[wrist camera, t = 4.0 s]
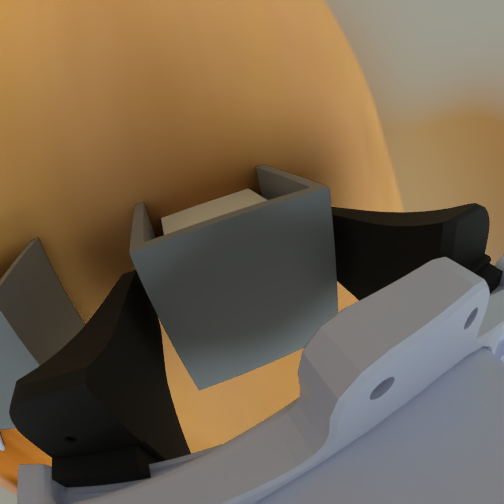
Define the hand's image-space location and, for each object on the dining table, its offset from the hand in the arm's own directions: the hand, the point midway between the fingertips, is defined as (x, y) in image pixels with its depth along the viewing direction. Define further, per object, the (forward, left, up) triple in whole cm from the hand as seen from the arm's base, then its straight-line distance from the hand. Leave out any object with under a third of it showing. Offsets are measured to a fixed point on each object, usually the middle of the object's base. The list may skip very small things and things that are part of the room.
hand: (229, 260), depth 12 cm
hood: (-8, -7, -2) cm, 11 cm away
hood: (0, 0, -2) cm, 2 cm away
